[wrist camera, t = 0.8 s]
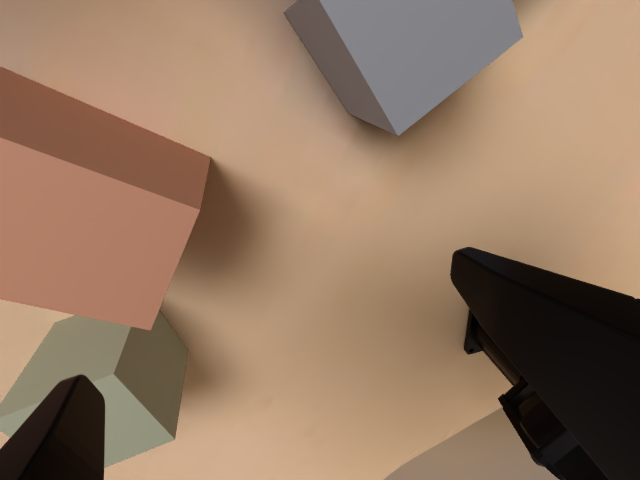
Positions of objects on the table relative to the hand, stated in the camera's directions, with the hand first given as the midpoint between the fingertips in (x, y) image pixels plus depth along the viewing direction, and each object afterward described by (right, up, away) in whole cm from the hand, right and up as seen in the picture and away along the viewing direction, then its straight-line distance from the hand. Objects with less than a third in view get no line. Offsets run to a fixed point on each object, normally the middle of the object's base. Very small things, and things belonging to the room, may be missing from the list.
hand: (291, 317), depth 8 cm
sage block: (-13, -5, +15) cm, 21 cm away
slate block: (+3, +13, +10) cm, 17 cm away
